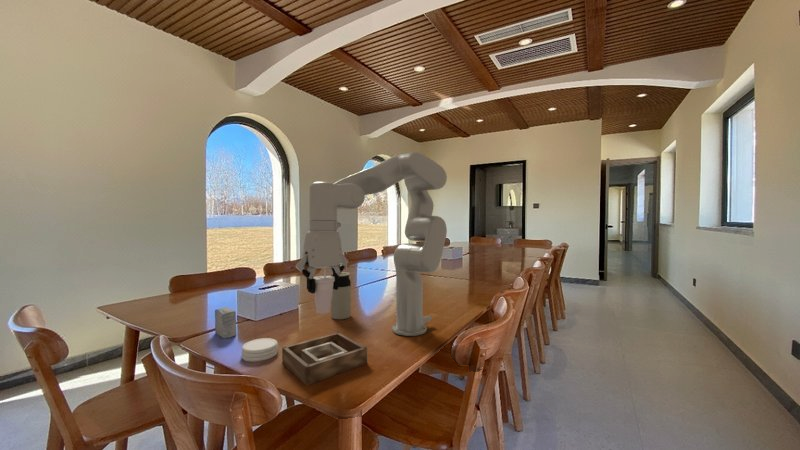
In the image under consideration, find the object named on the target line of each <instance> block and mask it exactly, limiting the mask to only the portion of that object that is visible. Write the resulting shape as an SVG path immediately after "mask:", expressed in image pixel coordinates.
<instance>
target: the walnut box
mask: <svg viewBox="0 0 800 450" xmlns="http://www.w3.org/2000/svg"><path fill="white" fill-rule="evenodd" d="M281 349H282V351H281V353H282V355H281V356H282V364H283V365H284V367H286V368H287V369H288V370H289V371H291V372H292V374H294V376H296V377H297V378H298V379H299V380H300V381H301V382H302V383H303V384H304V385H305V386H309V385H312V384H315V383H317V382H319V381H323V380H326V379H328V378H332V377H335V376H337V375H340V374H342V373H345V372H349V371H351V370H354V369H357V368H359V367H362V366H365V365H367V364H368V347H366V346H364V345H363V344H361V343H360V342H357V341H355V340H353V339H351V338H350V337H348V336H346V335H345V334H342V333H340V332H339V331H338V332H335V333H331V334H328V335H323V336H319V337H316V338H312V339H308V340H305V341H301V342H297V343H294V344H290V345H286V346H282V347H281Z"/></svg>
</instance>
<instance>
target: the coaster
mask: <svg viewBox="0 0 800 450" xmlns="http://www.w3.org/2000/svg"><path fill="white" fill-rule="evenodd" d="M278 345H279V343H278V341H277V340H276V339H274V338H270V337H269V338H268V337H262V338H256V339H255V338H254V339H252V340H248V341H247V342H245V343H244V344H243V345H242V346H241V359H242V360H244V361H245V362H251V363H254V362H255V363H256V362H263V361H267V360H269V359H271V358H274V357H276V355H278V352H279V350H278Z"/></svg>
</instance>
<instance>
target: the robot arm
mask: <svg viewBox="0 0 800 450" xmlns="http://www.w3.org/2000/svg"><path fill="white" fill-rule="evenodd" d="M447 178H448V175H447V172H446V170H445V169H444V168H443V166H441V165H440V164H439V163H437V162H436V161H434V160H433V159H432V158H430V157H429V156H427V155H425V154H423V153H421V152H419V151H418V152H417V151H411V152H406V153H401V154H400V153H399V154H397V155H393V156H391V157H390V158H387V159H385V160H383V161H381V162H380V163H378V164H376V165H373V166H371V167H369V168H366V169H363V170H361V171H359V172H356V173H354V174H351V175H349V176H346V177H344V178H341V179H339V180H338V181H336V182H334V183H333V182H328V181H314V182H313V183H311V184H310V185H309V229H308V230H309V231H306V232H305V236H304V244H303V252H302V253H303V254H302V257H301V259H300V260H299V261H298V262H297V263H296V264H295V268H296V269H297V270H298V271H299V272H300V273H301V274H302V275H303V276H304V277H305V278H306V290H307V292H308V293H309V294H312V295H314V293H315V279H314V278H313V277H315V275H316V271H317V270H318V269H324V268H326V269H327V268H329V269H330V271H331V272H332V273H333V274H332V273H331V275H330V276H333V277H335V281H334V284H333V289H335V290H338V286H339V275H341V272H344V270H345V269H346V268H345V267H347V265H348V264H349V259H348V258H346V257H345V256H344V255H343V250H342V241H341V235H340V231H338V228H341V226H342V224H341V222H338V210H355V209H357V208H358V209H359V208H360V207H361V206H362V205H363V204H364V202H365V199H366V198H365V197H366V196H368V195H373V194H378V193H381V192H384V191H385V190H388V189H389V188H390V187H392V186H394V185H396V184H398V183H399V182H401V181H403V180H404V185H405V187H406V189H407V191H408V193H409V196H410V199H411V200H410V201H411V203H410V209H409V212H408V216H407V220H406V224H405V227H404V235H405V237H406V239H408V240H409V241H413V242H419V243H420V242H421V244H419V243H407V242H406V243H401V244H399V245H398V246H397V247H396V248H395V249H394V253H393V264H394V268H395V278H396V283H395V284H396V288H395V289H396V290H395V291H396V294H395V295H396V310H395V311H396V317H395V318H396V323H394V324H393V325H392V326H391V327H392V328H391V330H392V332H393V333H394V334H396V335H399V336H406V337H416V336H420V335H424V334H425V333H426V332H427V325H426V324H425V323H426V322H430V321H431V320H432V315H426V316H424V315H423V306H424V305H423V303H424V302H423V301H424V299H423V298H424V297H423V295H424V294H423V292H424V291H423V285H424V283H423V277H422V275H421V273H427V274H430V273H434V272H436V270H438V267H439V266H440V264H441V260H442V255H443V251H444V248H445V243H446V238H447V235H448V234H447V232H448V231H447V230H448V229H447V224H446V221H445V219H443V218H442V217H441V216H440V215H439V216H438V215H433V212H434V206H435V205H434V201H433V198H432V197H431V195H430V193H429V192H428V191H432V190H433V191H434V190H441V189H442V188H444V186H446V183H447V180H448V179H447ZM422 242H423V243H424V244H422ZM305 267H306V268H307V269H306V268H305Z"/></svg>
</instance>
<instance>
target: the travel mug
mask: <svg viewBox="0 0 800 450" xmlns="http://www.w3.org/2000/svg"><path fill="white" fill-rule="evenodd" d="M331 274H333V273H331ZM350 275H351V273H350V272H347V271H342V272H341V275H339V286H338V290H335V289H333V292H332V299H331V307H330V316H331V318H332V319H334V320H346V319H348V318H349V319H350V317H351V315H352V312H351V309H352V306H351V304H352V302H351V301H352V300H351V299H352V297H351V295H352V292H351V288H352V287H351V283H352V282H351V279H350Z"/></svg>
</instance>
